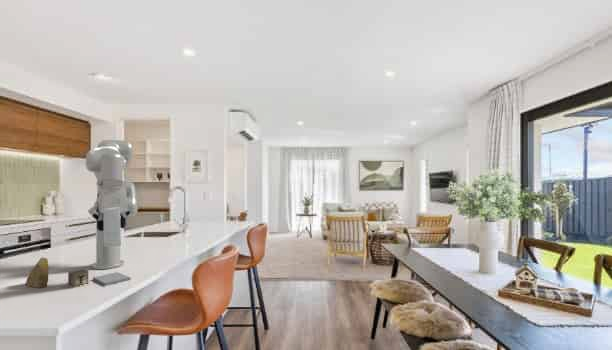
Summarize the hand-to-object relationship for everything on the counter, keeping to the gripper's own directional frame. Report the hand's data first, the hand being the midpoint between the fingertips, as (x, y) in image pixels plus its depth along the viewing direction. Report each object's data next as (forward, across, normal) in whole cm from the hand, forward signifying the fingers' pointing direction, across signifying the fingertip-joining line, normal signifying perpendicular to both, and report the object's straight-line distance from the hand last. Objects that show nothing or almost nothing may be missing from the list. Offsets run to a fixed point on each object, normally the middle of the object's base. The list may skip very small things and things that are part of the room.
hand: (111, 228), depth 127 cm
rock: (+20, -20, +16) cm, 33 cm away
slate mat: (+20, 0, 0) cm, 20 cm away
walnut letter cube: (+20, -10, +4) cm, 23 cm away
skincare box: (+7, 0, 0) cm, 7 cm away
